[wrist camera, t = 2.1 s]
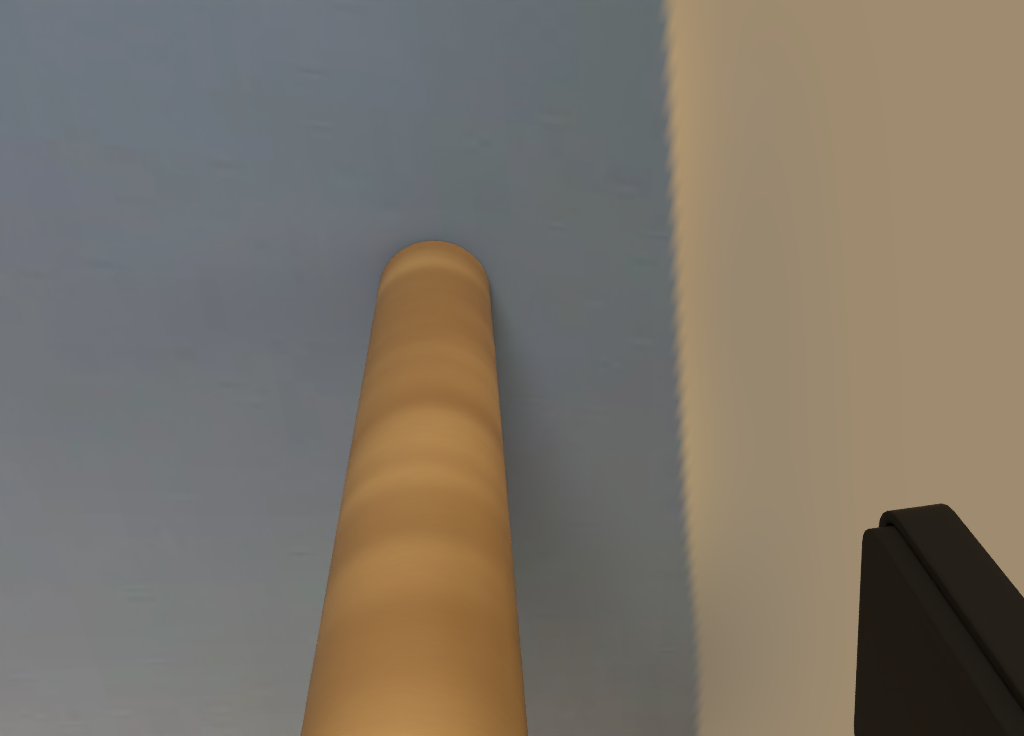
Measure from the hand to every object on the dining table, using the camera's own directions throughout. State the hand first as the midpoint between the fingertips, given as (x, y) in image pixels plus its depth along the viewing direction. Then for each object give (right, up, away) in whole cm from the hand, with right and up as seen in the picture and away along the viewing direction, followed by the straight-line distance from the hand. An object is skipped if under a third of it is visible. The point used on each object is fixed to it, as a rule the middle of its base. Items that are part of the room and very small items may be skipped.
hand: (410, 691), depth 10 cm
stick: (0, +5, +8) cm, 9 cm away
